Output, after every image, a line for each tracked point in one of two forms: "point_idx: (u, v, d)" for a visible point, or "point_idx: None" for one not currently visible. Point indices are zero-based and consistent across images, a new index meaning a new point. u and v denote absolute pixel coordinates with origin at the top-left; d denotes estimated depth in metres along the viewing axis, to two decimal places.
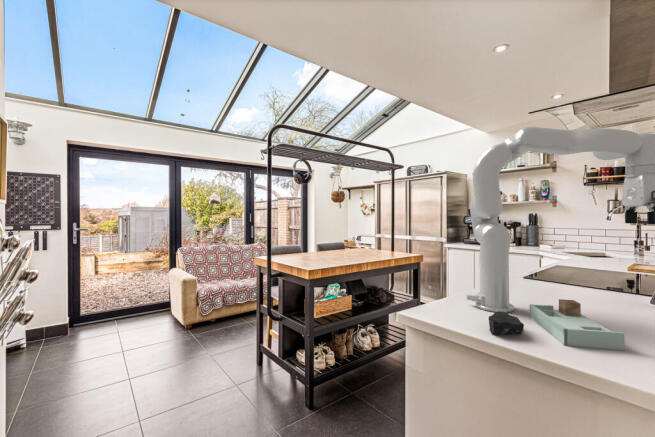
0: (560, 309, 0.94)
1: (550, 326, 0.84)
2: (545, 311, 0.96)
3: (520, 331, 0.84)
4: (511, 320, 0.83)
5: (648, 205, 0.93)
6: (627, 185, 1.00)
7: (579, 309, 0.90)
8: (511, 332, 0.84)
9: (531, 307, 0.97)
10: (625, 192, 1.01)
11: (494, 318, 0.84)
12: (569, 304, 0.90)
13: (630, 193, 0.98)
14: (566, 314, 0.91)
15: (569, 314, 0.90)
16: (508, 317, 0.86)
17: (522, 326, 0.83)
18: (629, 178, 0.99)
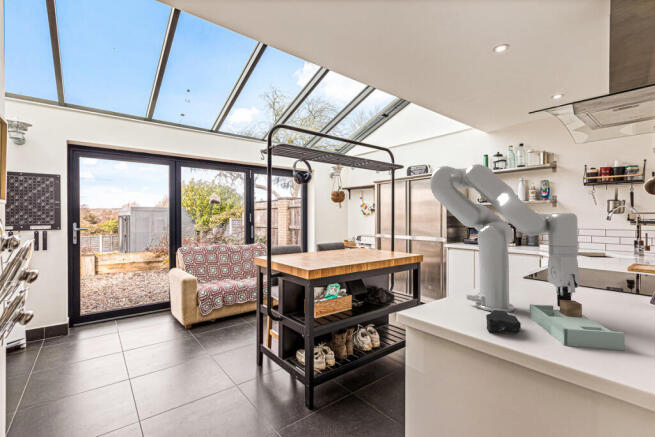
0: (561, 310, 0.93)
1: (550, 326, 0.84)
2: (545, 311, 0.96)
3: (517, 330, 0.85)
4: (508, 319, 0.85)
5: (561, 289, 0.94)
6: (550, 262, 0.98)
7: (580, 310, 0.89)
8: (508, 331, 0.85)
9: (531, 307, 0.97)
10: (549, 268, 0.99)
11: (491, 316, 0.86)
12: (570, 305, 0.90)
13: (553, 271, 0.96)
14: (567, 315, 0.90)
15: (570, 315, 0.90)
16: (505, 315, 0.87)
17: (519, 325, 0.84)
18: (552, 256, 0.97)
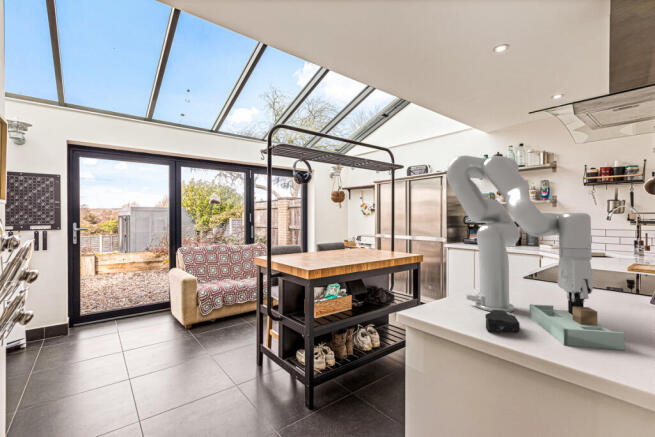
0: (574, 317, 0.86)
1: (550, 326, 0.84)
2: (545, 311, 0.96)
3: (516, 330, 0.86)
4: (506, 318, 0.85)
5: (573, 295, 0.88)
6: (561, 266, 0.91)
7: (596, 317, 0.82)
8: (507, 330, 0.86)
9: (531, 307, 0.97)
10: (559, 272, 0.92)
11: (489, 316, 0.86)
12: (585, 312, 0.83)
13: (563, 276, 0.90)
14: (581, 323, 0.83)
15: (585, 323, 0.83)
16: (505, 315, 0.87)
17: (518, 325, 0.84)
18: (562, 259, 0.91)
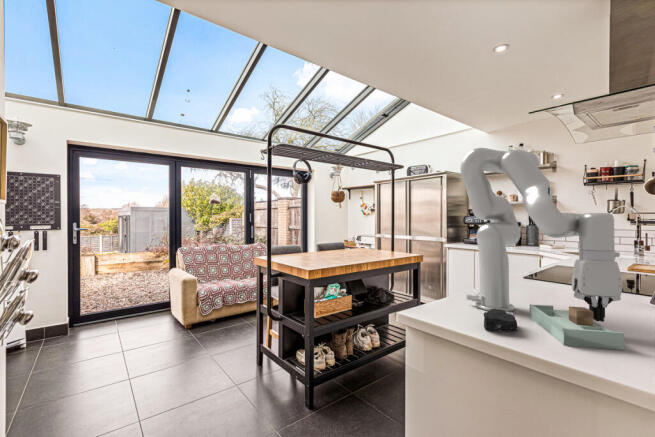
0: (570, 317, 0.86)
1: (550, 326, 0.84)
2: (545, 311, 0.96)
3: (514, 329, 0.86)
4: (504, 317, 0.86)
5: None
6: None
7: (592, 318, 0.82)
8: (504, 329, 0.87)
9: (531, 307, 0.97)
10: None
11: (487, 314, 0.88)
12: (581, 312, 0.83)
13: None
14: (577, 323, 0.83)
15: (581, 323, 0.83)
16: (503, 314, 0.88)
17: (515, 323, 0.85)
18: None
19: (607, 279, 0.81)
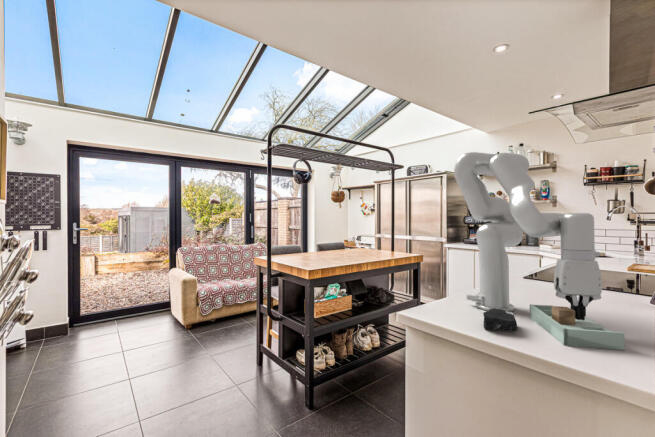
0: (553, 317, 0.87)
1: (550, 326, 0.84)
2: (545, 311, 0.96)
3: (514, 328, 0.87)
4: (503, 317, 0.86)
5: None
6: None
7: (574, 317, 0.83)
8: (504, 328, 0.87)
9: (531, 307, 0.97)
10: None
11: (486, 314, 0.88)
12: (563, 312, 0.84)
13: None
14: (560, 322, 0.84)
15: (563, 322, 0.84)
16: (502, 314, 0.88)
17: (515, 323, 0.85)
18: None
19: (587, 278, 0.83)
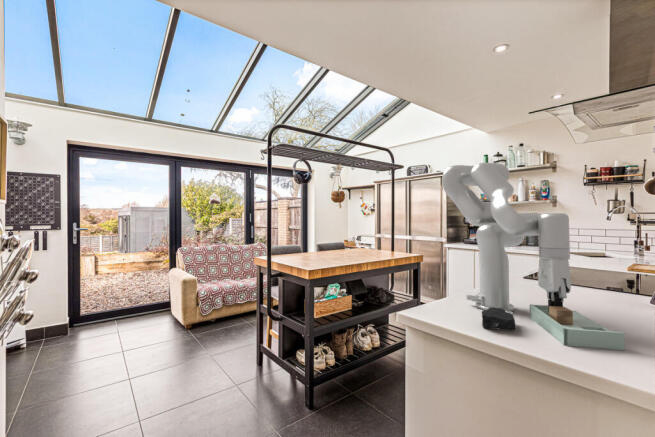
0: (551, 317, 0.87)
1: (550, 326, 0.84)
2: (545, 311, 0.96)
3: (513, 327, 0.87)
4: (501, 316, 0.87)
5: (552, 295, 0.88)
6: (541, 265, 0.92)
7: (571, 317, 0.83)
8: (502, 327, 0.88)
9: (531, 307, 0.97)
10: (540, 272, 0.93)
11: (485, 312, 0.89)
12: (561, 312, 0.84)
13: (543, 275, 0.90)
14: (558, 322, 0.84)
15: (561, 322, 0.84)
16: (501, 313, 0.89)
17: (513, 322, 0.86)
18: (542, 258, 0.91)
19: None
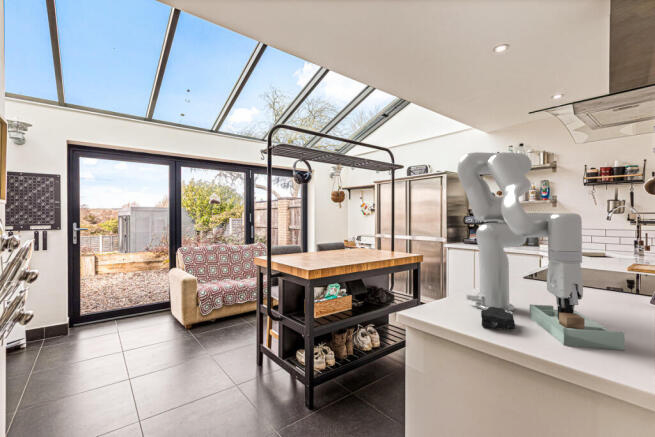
0: (561, 324, 0.81)
1: (550, 326, 0.84)
2: (545, 311, 0.96)
3: (512, 327, 0.88)
4: (500, 315, 0.88)
5: (562, 301, 0.82)
6: (550, 269, 0.86)
7: (583, 325, 0.77)
8: (501, 327, 0.88)
9: (531, 307, 0.97)
10: (549, 276, 0.87)
11: (484, 312, 0.90)
12: (571, 319, 0.78)
13: (553, 280, 0.84)
14: None
15: None
16: (500, 312, 0.90)
17: (512, 322, 0.86)
18: (552, 262, 0.85)
19: None
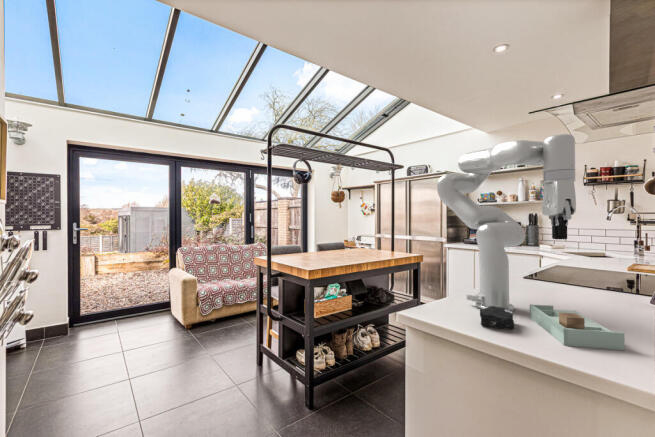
0: (561, 324, 0.81)
1: (550, 326, 0.84)
2: (545, 311, 0.96)
3: (511, 326, 0.88)
4: (499, 314, 0.88)
5: (557, 218, 0.86)
6: (545, 192, 0.90)
7: (583, 325, 0.77)
8: (500, 326, 0.89)
9: (531, 307, 0.97)
10: (544, 199, 0.91)
11: (483, 311, 0.91)
12: (571, 319, 0.78)
13: (547, 201, 0.88)
14: None
15: None
16: (500, 311, 0.90)
17: (510, 321, 0.87)
18: (547, 184, 0.89)
19: None
